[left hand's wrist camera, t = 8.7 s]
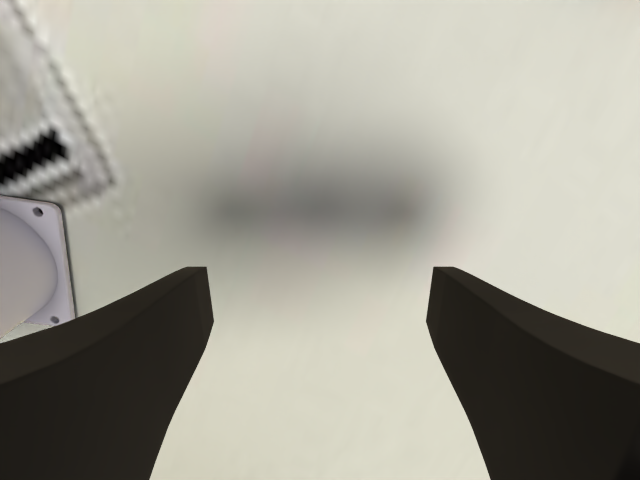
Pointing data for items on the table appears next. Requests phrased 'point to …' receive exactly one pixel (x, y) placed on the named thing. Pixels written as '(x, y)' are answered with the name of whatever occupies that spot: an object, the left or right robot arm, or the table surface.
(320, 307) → the table surface
